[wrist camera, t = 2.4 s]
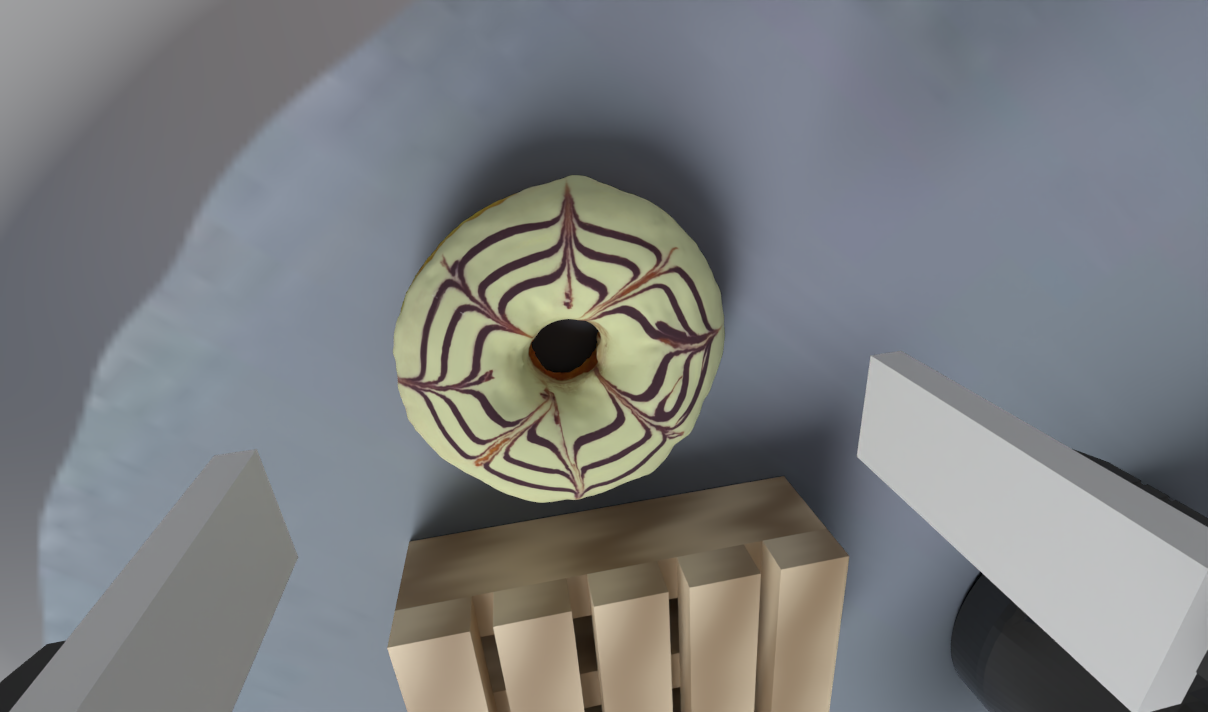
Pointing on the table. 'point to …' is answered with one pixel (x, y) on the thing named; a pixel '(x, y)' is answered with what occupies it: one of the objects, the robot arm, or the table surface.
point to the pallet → (627, 609)
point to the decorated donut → (544, 295)
